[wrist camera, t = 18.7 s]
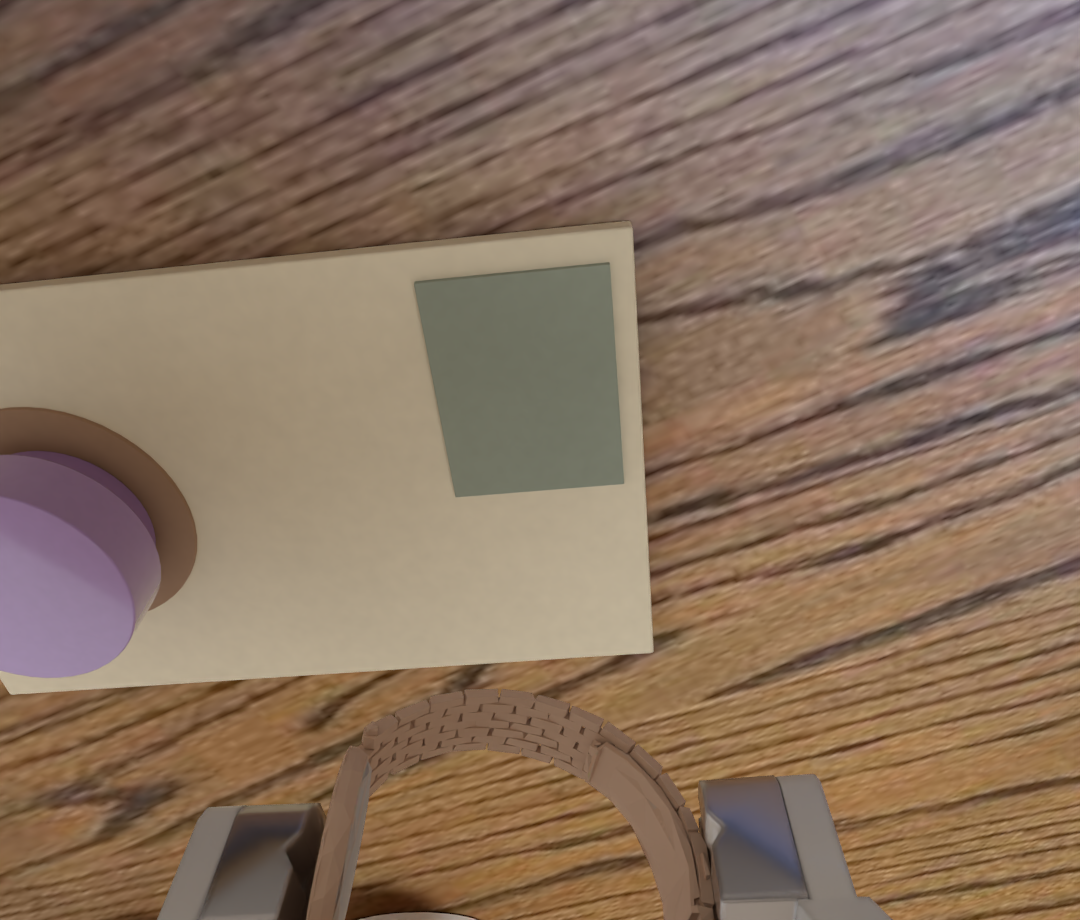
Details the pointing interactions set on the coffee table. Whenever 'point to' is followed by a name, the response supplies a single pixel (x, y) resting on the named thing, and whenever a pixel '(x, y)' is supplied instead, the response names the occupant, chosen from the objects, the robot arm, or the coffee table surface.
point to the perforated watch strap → (467, 727)
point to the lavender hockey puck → (70, 565)
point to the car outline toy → (418, 916)
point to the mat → (356, 451)
